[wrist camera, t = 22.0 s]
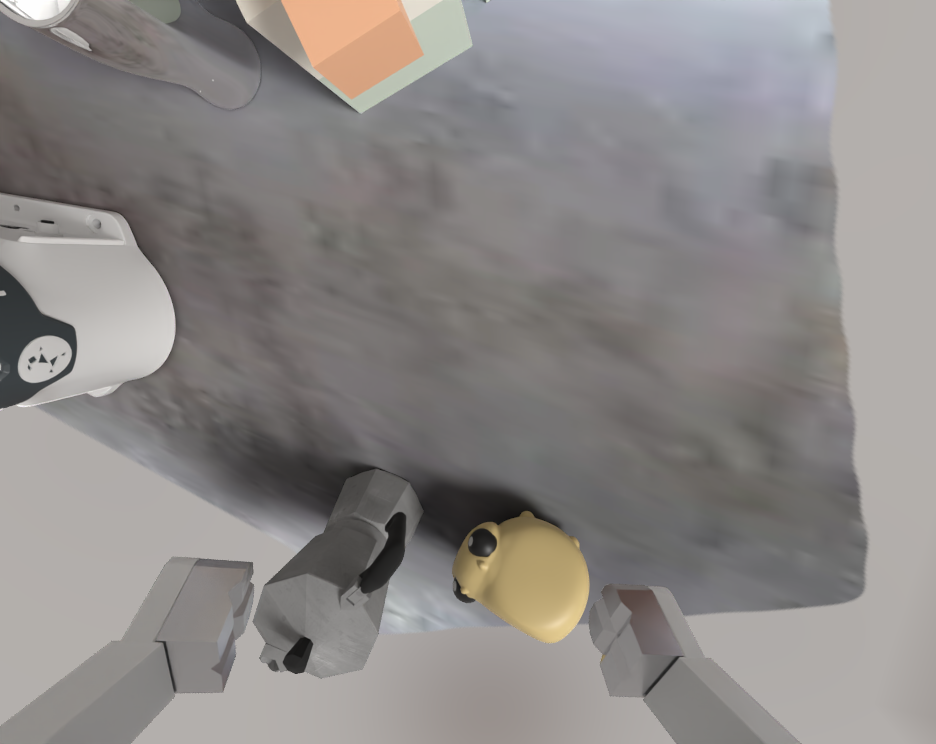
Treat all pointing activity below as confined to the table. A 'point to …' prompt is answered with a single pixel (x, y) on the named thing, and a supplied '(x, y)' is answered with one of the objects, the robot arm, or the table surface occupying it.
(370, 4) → the long brick
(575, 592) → the yellow toy figurine
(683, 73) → the table surface
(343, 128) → the table surface
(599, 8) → the table surface
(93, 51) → the beer glass
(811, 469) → the table surface
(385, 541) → the coffeepot
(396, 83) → the short tower
